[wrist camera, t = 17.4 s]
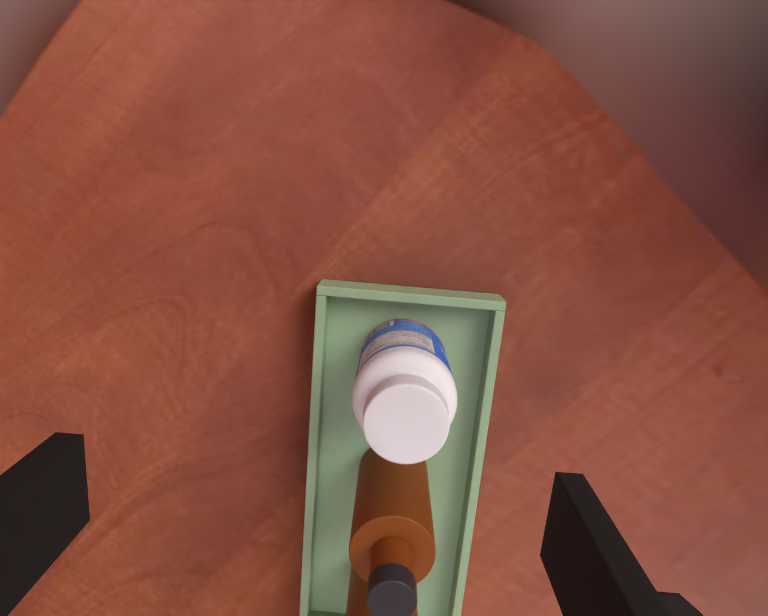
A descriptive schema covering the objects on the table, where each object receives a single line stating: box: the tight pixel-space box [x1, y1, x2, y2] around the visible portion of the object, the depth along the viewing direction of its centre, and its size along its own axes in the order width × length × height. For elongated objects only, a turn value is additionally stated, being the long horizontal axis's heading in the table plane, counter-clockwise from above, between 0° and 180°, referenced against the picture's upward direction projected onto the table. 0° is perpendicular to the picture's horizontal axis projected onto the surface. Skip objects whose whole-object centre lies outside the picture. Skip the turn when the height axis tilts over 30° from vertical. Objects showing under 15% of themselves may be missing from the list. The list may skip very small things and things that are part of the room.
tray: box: [299, 279, 506, 616], centre depth 35 cm, size 25×11×2 cm, turn 175°
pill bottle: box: [352, 318, 457, 464], centre depth 28 cm, size 6×5×10 cm
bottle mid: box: [349, 448, 436, 616], centre depth 30 cm, size 5×5×11 cm
